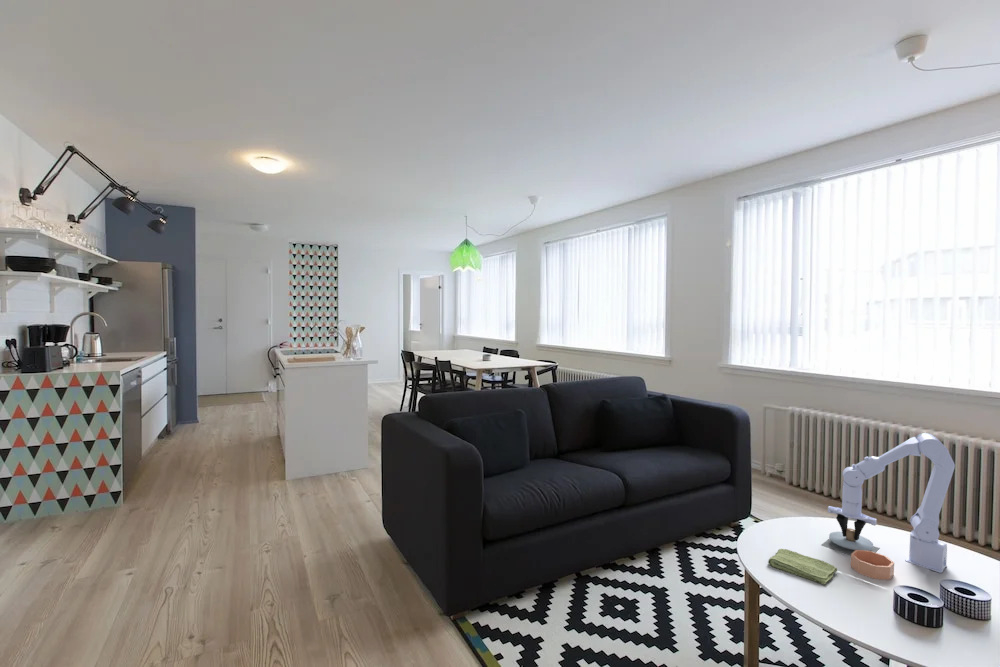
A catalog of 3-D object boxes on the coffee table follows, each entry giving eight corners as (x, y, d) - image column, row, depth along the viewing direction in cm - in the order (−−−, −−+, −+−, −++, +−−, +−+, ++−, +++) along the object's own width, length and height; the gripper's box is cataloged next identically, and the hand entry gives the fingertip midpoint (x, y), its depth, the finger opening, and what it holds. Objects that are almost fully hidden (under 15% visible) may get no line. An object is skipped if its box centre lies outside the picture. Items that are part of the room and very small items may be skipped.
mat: (879, 549, 177) (879, 548, 177) (866, 561, 168) (866, 560, 168) (835, 534, 188) (835, 533, 188) (820, 546, 179) (821, 545, 179)
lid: (878, 543, 177) (878, 531, 176) (866, 554, 169) (866, 542, 168) (836, 530, 187) (836, 519, 187) (823, 540, 179) (823, 529, 179)
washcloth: (827, 588, 153) (827, 578, 153) (766, 566, 166) (766, 557, 166) (838, 572, 162) (838, 563, 162) (779, 553, 175) (779, 544, 175)
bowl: (896, 572, 161) (897, 559, 161) (886, 584, 155) (887, 570, 154) (858, 559, 170) (858, 547, 169) (847, 569, 163) (847, 556, 163)
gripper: (824, 497, 180) (823, 533, 181) (872, 510, 169) (871, 548, 170) (832, 493, 185) (831, 528, 185) (879, 505, 173) (877, 542, 174)
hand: (850, 537), depth 178 cm, fingers closed on lid, 3 cm apart
